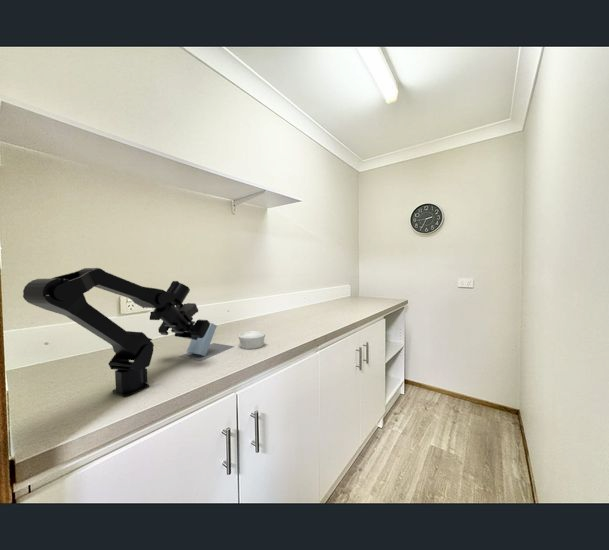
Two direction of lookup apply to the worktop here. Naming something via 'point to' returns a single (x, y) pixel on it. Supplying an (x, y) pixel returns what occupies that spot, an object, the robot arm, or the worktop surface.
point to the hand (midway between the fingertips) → (196, 338)
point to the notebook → (202, 342)
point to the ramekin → (251, 339)
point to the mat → (211, 351)
